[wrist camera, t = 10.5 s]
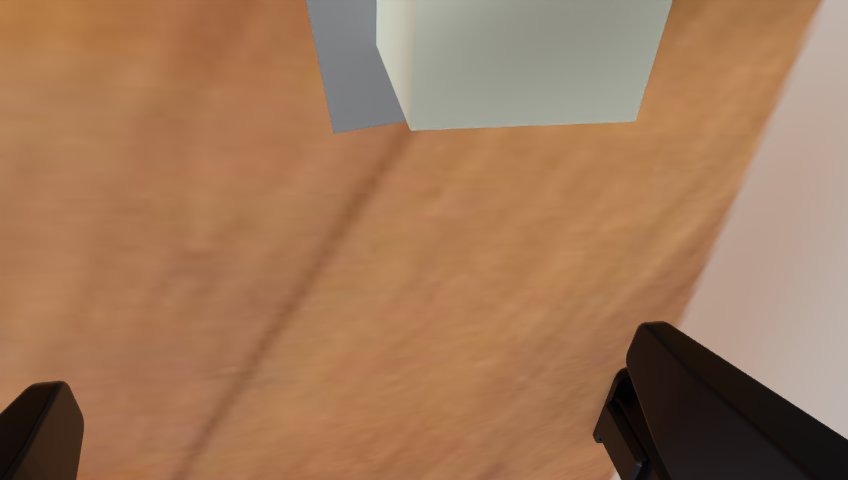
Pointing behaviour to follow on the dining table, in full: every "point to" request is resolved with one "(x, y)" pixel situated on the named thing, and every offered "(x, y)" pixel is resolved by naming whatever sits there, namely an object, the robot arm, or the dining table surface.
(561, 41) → the sage cube
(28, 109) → the dining table surface
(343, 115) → the gray square block
